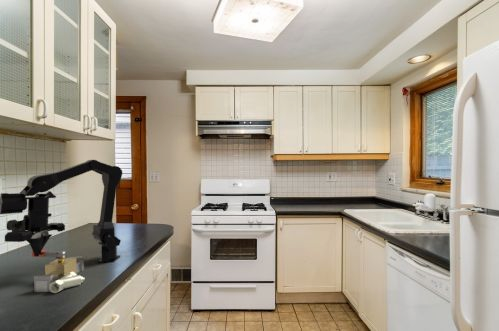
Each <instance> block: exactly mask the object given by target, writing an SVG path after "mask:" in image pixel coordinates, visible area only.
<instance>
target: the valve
mask: <svg viewBox="0 0 499 331" xmlns="http://www.w3.org/2000/svg"><path fill="white" fill-rule="evenodd" d="M44 267H45V268H44V274H36V275H34V276H33V282H34V284H33V285H34V286H33V287H34V290H33V292H34V293H48V292H49V293H52V292H51V291H50V289H49V287H50V284H51V283H53V282H55V281H57V280H58V279H60V278H62V277H63V276H65V275H66V274H68V273H70V272H74V273H76V274H77V275H78V273H79V272H82V271H84V270H85V257H84V256H69V257H64V258H59V259H56V258H55V260H52V261H51V262H48V263H46V264H44Z"/></svg>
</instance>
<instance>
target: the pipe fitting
mask: <svg viewBox="0 0 499 331" xmlns="http://www.w3.org/2000/svg"><path fill="white" fill-rule="evenodd" d="M84 281H85V277H83V276H81V274H78V273H77V274H76V273H74V272H70V273H68V274H66V275H65V276H63V277H62V278H60V279H58V280H57V281H55V282H53V283H51V284H50V287H49V289H50V291H51V292H50V293H53V294H57V293H59V292H60V291H63V290H65V289H69V288H72V287H77V286H81V283H83V282H84Z"/></svg>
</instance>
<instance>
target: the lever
mask: <svg viewBox="0 0 499 331" xmlns="http://www.w3.org/2000/svg"><path fill="white" fill-rule="evenodd" d="M67 253H68V252H67V250H65V249H64V250H59V251H58V250H50V249H42V251H41V252H40V254H39V256H37V257H35V256H34V253H33V250H32V251H31V257H33V258H34V257H35V258H44V257H45V258H55V260H56V259H59V258H67V256H68V254H67Z"/></svg>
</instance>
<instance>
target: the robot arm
mask: <svg viewBox="0 0 499 331" xmlns="http://www.w3.org/2000/svg"><path fill="white" fill-rule="evenodd" d="M91 171H93V172H95V173H97V174H98V175H101V181H102V184H103V192H102V201H101V206H100V207H101V208H100V215H99V216H100V217H99V220H98V222H97V224H93V229H92V230H93V231H92V233H91V235H92V236H93V239H94V240H95V241H96V242H97V243H98V245H101V248H100V249H101V251H100V252H101V258H100V259H99V260H97V262H98V263H113V262H115V261H117V260H118V259H119V258H121V255H119V254H118V246H120V244H121V242H122V240H121V239H120V238H118V236H116V234H115V226H114V223H113V217H114V209H115V201H116V193H117V188H118V185H119V184H120V183H121V179H122V177H123V170H122V168H121V167H119V166H117V165H110V164H107V163H104V162H102V161H98V160H96V159H88V160H86V161H84V162H82V163H78V164H75V165H72V166H70V167H67V168H64V169H61V170H58V171H55V172H48V173H43V174H38V175H34V176H31V177H30V178H28V181H27V184H26V186H25V187H23V189H22V190H21V191H20V192H19V193H8V192H1V193H0V215H10V214H11V215H13V214H22V213H23V211H25V210H27V214H24V216H23V219H22V220H17V219H10V220H8V221H6V230H7V231H9V232H7V233H6V234H5V235H4V243H5V242H7V243H8V242H9V243H23V242H27V243H29V246H30V247H31V250H32V251H33V253H34V256H35V258H38V257H37V256H39V254H40V252H41V251H42V250H44V248H45V245H46V244H47V242H48V241H49V240H50V238H51V237H53V234H49V233H50V231H51V232H52V231H57V232H59V233H61V232H64V231H66V230H65V229H66V224H64V223H63V222H49V218H51V217H52V213H49V208H50V199H55V198H57V195H55V194H54V193H52V191H50V190H52V189H53V188H54V187H56V186H57V185H60V184H61V183H63V182H65V181H67V180H71V179H72V178H75V177H78V176H80V175H83V174H85V173H88V172H91Z"/></svg>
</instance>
